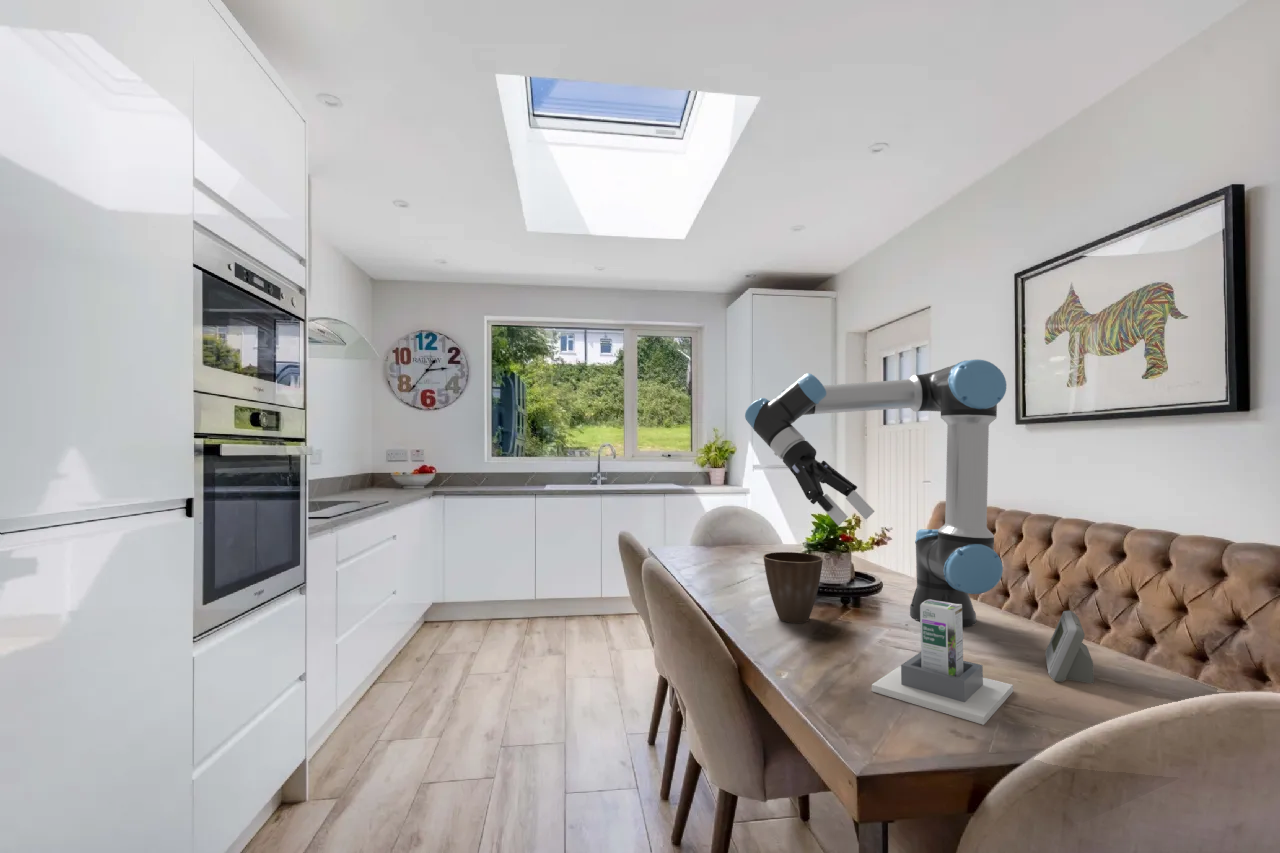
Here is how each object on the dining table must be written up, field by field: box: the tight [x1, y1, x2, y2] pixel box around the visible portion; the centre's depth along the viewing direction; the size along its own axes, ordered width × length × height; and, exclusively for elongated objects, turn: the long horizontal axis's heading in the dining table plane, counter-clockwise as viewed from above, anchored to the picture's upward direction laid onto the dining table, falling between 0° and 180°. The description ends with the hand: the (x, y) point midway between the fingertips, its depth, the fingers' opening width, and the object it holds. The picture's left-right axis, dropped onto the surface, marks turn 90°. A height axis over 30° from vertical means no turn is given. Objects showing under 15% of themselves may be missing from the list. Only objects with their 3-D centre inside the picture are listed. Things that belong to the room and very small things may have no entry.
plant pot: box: [762, 551, 824, 624], centre depth 149 cm, size 15×15×16 cm
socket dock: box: [871, 651, 1014, 726], centre depth 104 cm, size 18×18×5 cm
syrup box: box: [919, 599, 964, 677], centre depth 105 cm, size 6×6×14 cm
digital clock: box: [1044, 610, 1095, 684], centre depth 114 cm, size 16×9×11 cm, turn 136°
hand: (857, 518), depth 127 cm, fingers open, 13 cm apart
